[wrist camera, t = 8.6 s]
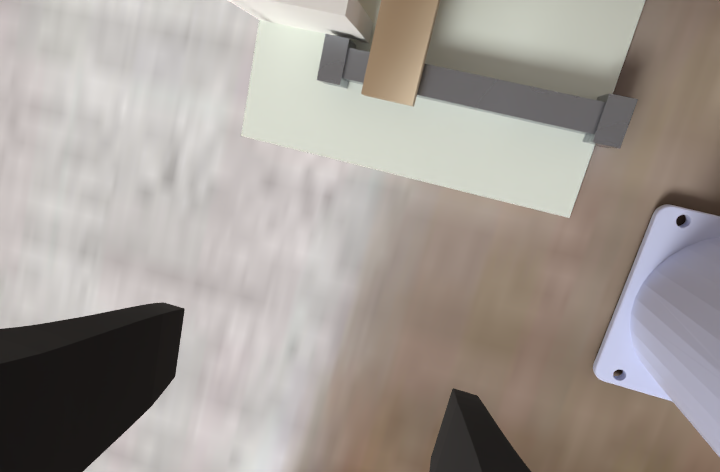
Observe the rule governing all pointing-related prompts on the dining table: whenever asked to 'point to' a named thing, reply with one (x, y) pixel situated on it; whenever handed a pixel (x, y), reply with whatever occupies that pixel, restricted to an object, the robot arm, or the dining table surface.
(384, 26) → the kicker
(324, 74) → the rail
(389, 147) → the mat
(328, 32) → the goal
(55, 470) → the robot arm
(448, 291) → the dining table surface
